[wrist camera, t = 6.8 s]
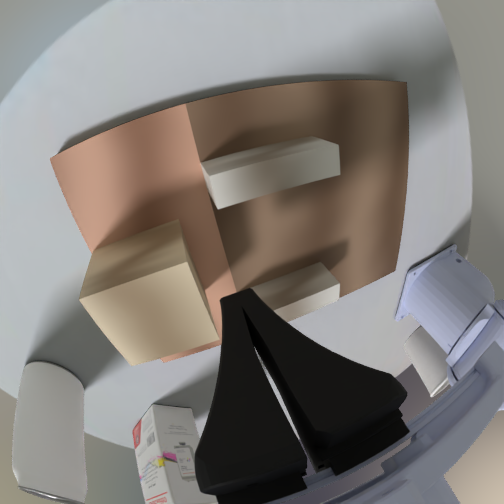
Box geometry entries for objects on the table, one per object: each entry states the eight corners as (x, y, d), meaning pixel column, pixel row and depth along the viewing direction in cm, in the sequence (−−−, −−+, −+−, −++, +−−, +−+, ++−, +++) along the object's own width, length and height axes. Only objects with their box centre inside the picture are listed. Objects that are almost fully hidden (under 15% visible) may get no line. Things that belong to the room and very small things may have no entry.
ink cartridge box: (167, 433, 28) (194, 532, 16) (131, 429, 25) (152, 535, 13) (194, 407, 26) (233, 528, 14) (152, 401, 23) (183, 535, 11)
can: (18, 377, 16) (9, 486, 6) (31, 348, 15) (16, 483, 6) (72, 402, 20) (77, 507, 10) (94, 379, 19) (103, 506, 9)
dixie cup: (423, 314, 33) (465, 360, 25) (439, 318, 37) (474, 356, 29) (388, 356, 35) (424, 402, 27) (409, 354, 40) (439, 393, 31)
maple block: (178, 218, 13) (187, 261, 10) (204, 290, 16) (219, 339, 13) (93, 250, 13) (78, 299, 9) (131, 314, 15) (131, 366, 12)
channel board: (396, 81, 14) (435, 86, 11) (388, 264, 23) (412, 286, 20) (56, 154, 10) (28, 172, 7) (162, 352, 19) (167, 389, 17)
